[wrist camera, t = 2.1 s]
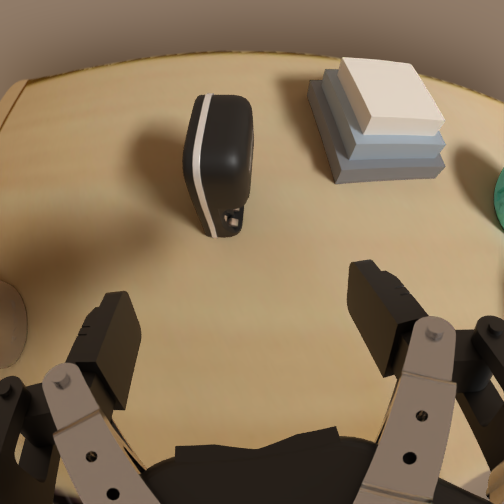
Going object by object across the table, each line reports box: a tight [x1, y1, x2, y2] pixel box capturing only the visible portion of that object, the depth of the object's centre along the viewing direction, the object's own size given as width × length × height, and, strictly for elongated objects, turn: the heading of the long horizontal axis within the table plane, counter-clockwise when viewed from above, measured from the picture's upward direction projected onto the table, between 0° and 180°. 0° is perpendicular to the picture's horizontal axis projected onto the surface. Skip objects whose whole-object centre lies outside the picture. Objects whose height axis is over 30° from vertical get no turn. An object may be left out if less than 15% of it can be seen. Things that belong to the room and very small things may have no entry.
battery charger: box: [182, 93, 254, 238], centre depth 23 cm, size 7×4×11 cm, turn 176°
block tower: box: [307, 57, 446, 184], centre depth 27 cm, size 12×12×8 cm
